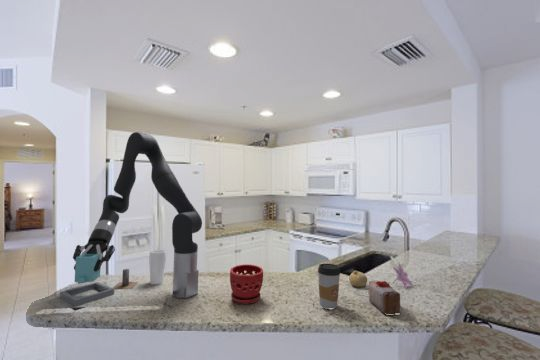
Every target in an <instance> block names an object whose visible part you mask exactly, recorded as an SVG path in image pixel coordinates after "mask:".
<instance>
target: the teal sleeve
mask: <svg viewBox="0 0 540 360" xmlns="http://www.w3.org/2000/svg"><path fill="white" fill-rule="evenodd" d="M98 257H99V254H87V253H86V254H84V255H80V256H78V257H76V261H75V264H74V266H75V270H74V283H77V284H85V283H94V281H96V280H97V279H98V278H100V277H101V269H102V266H101V267H100V269H99V270H98V271H97V272H95V271H94V267H95V264H96V262H97V260H99V259H98Z"/></svg>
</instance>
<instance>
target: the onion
mask: <svg viewBox="0 0 540 360" xmlns="http://www.w3.org/2000/svg"><path fill="white" fill-rule="evenodd" d="M348 280H349V281H348V282H349V283H350V285H352V286H353V287H356V288H365V287H366V285H367V283H368V277H367V275H365V273H363V272H361V271H358V270H354V271H352V272H351V274H350V275H349V277H348Z"/></svg>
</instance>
